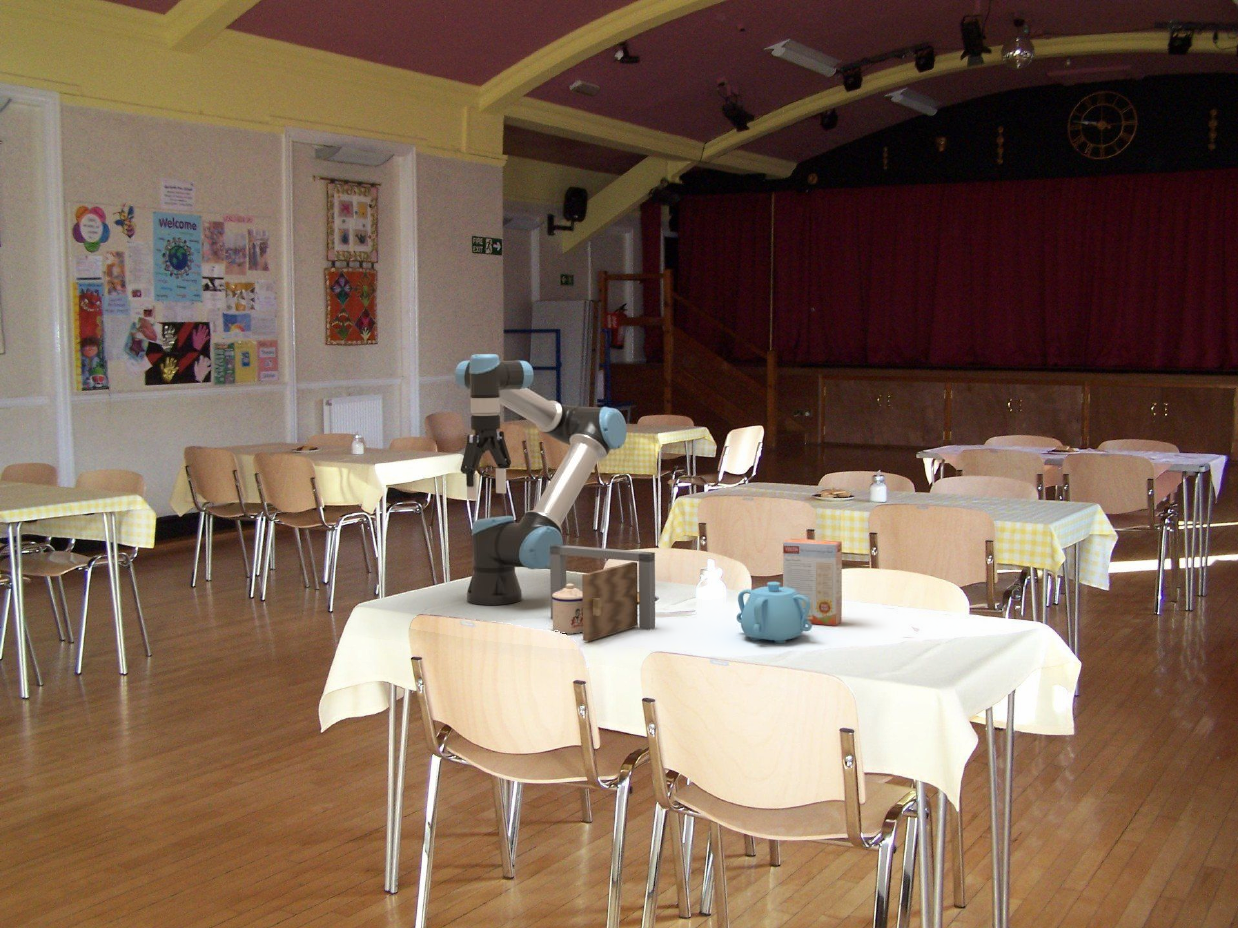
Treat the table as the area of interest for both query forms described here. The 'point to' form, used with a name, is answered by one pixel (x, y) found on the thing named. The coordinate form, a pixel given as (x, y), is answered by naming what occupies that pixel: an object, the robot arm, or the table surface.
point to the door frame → (644, 558)
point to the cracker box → (815, 577)
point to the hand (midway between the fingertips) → (487, 496)
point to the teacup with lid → (568, 610)
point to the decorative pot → (773, 613)
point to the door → (609, 600)
